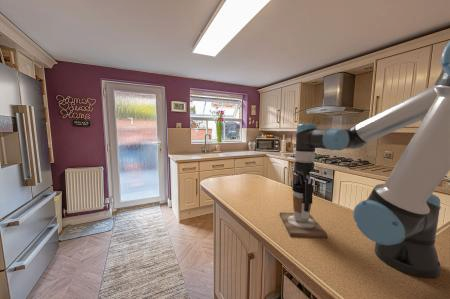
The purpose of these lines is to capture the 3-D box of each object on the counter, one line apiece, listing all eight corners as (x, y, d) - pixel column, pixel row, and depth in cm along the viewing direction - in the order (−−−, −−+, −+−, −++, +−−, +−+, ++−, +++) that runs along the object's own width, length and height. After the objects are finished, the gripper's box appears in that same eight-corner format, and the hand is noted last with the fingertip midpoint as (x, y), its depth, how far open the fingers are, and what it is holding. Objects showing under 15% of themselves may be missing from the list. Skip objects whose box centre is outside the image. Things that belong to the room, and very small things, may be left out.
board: (327, 237, 73) (327, 233, 73) (289, 236, 74) (290, 231, 74) (309, 216, 91) (309, 212, 91) (279, 215, 92) (279, 211, 91)
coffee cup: (314, 224, 77) (316, 188, 75) (292, 221, 79) (294, 186, 77) (309, 215, 85) (311, 182, 84) (289, 213, 87) (291, 181, 85)
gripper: (325, 165, 69) (320, 225, 71) (304, 157, 89) (302, 204, 92) (303, 165, 69) (300, 225, 72) (288, 157, 90) (286, 204, 92)
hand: (301, 213), depth 82 cm, fingers closed on coffee cup, 8 cm apart
